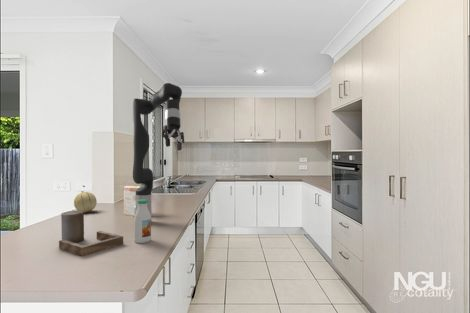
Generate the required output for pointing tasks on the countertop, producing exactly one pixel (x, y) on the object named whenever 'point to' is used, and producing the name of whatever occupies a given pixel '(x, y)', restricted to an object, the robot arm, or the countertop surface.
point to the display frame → (107, 242)
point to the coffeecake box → (130, 199)
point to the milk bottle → (142, 223)
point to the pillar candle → (73, 226)
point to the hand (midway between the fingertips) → (173, 148)
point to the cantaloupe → (85, 201)
